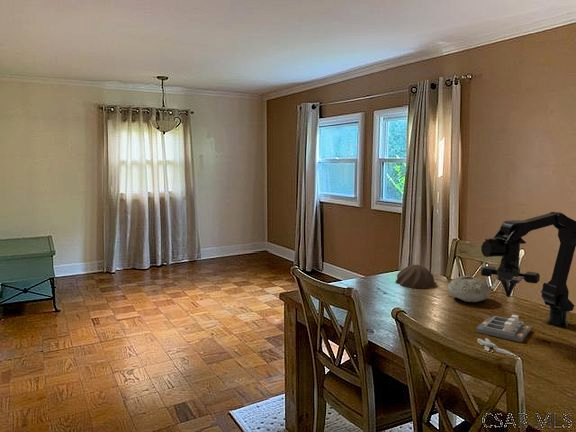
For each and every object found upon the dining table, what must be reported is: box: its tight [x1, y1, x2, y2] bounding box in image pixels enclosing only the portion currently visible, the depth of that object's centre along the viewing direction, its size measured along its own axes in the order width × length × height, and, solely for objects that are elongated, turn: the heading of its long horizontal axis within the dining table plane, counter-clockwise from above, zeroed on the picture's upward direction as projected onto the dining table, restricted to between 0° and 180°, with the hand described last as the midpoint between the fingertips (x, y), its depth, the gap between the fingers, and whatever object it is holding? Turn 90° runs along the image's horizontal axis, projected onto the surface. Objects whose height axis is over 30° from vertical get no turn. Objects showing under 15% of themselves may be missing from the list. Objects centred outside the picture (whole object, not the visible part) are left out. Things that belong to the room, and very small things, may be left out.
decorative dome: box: [395, 264, 436, 289], centre depth 224 cm, size 19×20×10 cm
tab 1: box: [503, 321, 514, 332], centre depth 154 cm, size 3×3×4 cm
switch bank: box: [475, 315, 532, 343], centre depth 159 cm, size 14×15×3 cm
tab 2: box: [508, 317, 517, 328], centre depth 158 cm, size 3×3×4 cm
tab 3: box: [510, 314, 520, 325], centre depth 161 cm, size 3×3×4 cm
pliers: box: [476, 337, 519, 357], centre depth 143 cm, size 10×2×15 cm
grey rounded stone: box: [447, 275, 492, 303], centre depth 196 cm, size 18×18×10 cm
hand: (508, 296), depth 161 cm, fingers closed
